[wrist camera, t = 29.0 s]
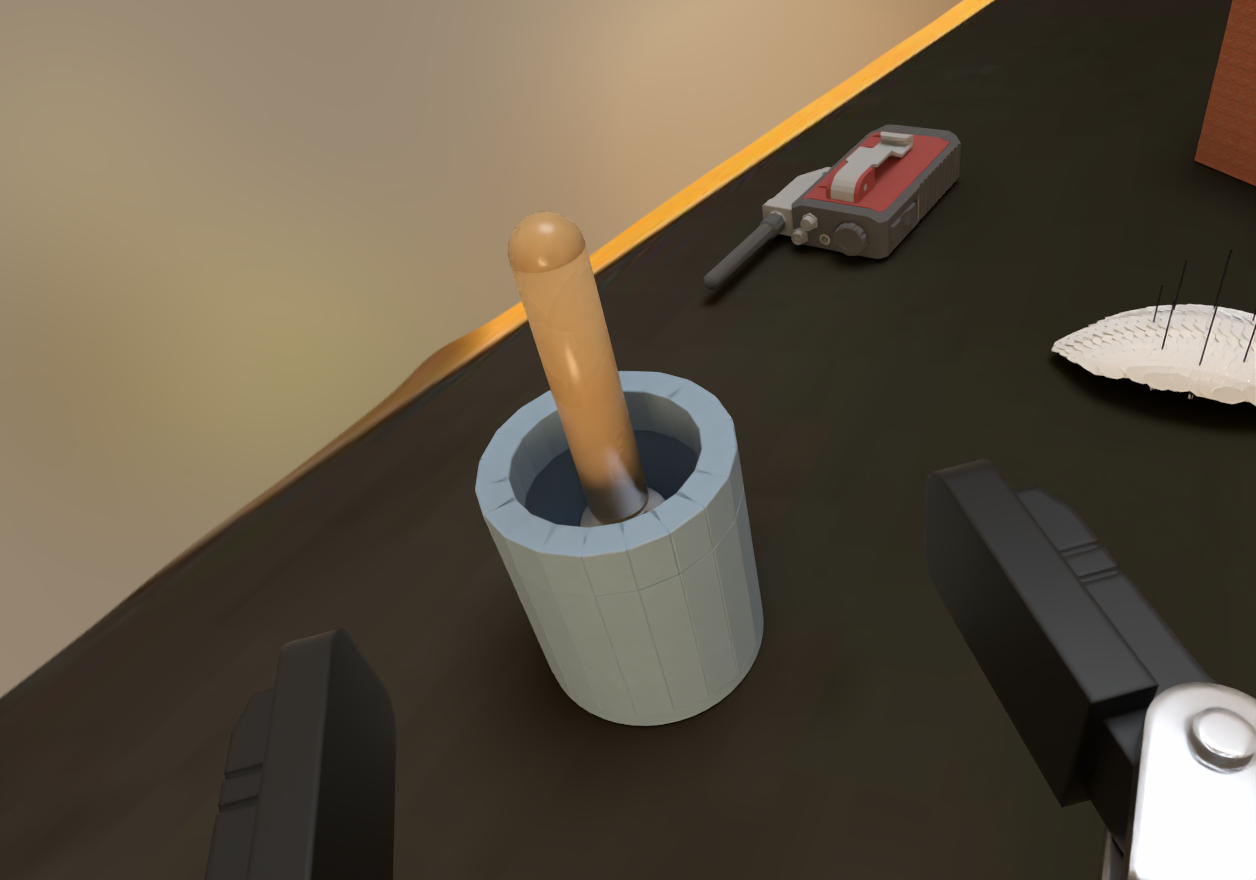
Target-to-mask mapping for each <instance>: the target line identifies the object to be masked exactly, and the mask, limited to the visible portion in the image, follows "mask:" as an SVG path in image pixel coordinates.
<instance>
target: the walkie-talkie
mask: <svg viewBox="0 0 1256 880" xmlns="http://www.w3.org/2000/svg"><path fill="white" fill-rule="evenodd" d="M960 151H961V143H960V141H959V140H958V138H957V136H956V135H955V134H953V133H952V132H950V131H946V130H936V129H927V128H917V127H908V126H898V125H885V126H883V127H881V128H879V129H877V130H875V131H872V132H870V133H868V135H867V136H865V137H864V138H863V139H862V140H861V141H860V142H859V143H857V145H856V146H854V147H853V149H852V150H850V151H849V152H848V153H847V154H845V156H844V157H842V158H841V160H840V161H838V162H837V163H836V164H835V165H833V167H832V168H830V167H826V168H823V169H820V170H817V171H813V172H810V173H807V174H804V175H801V176H798V177H797V178H795V179H794V180H793V181H792V182H791V183H790V184H789V185H787V186H786V187H785V188H784V189H783V190H782V191H781V192H780V193H778V194H777V195H776V196H775V197H774V198H772V199H770V200H768V201H767V202H766V203H765V204H764V205H763V206H762V211H763V221H762V222H761V223H760V224H759V227H758V228H757V229H756V230H755V231H754V232H753V233H752V234H751V235H749V236H748V237H747V238H746V239H745V240H744V241H743V242H742V243H741V244H740V245H739V246H737V247H736V248H735V249H734V250H733V251H732V252H731V253H730V254H729V255H728V256H727V257H725V258H724V259H723V260H722V261H721V262H720V263H719V264H718V265H717V266H716V267H715V268H713V269H712V270H711V271H710V272H709V273H708V274H707V275H706V276H705V277H704V285H705V286H706V288H708V289H711V290H715V289H717V288H718V287H719V286H720V285H721V284H722V283H723V282H724V281H726V280H727V279H728V278H729V277H730V276H731V275H732V274H733V273H734V272H735V271H736V270H737V269H738V268H739V267H740V266H741V265H743V264H744V263H745V262H746V261H747V260H748V259H749V258H750V257H751V256H752V255H753V254H754V253H755V252H756V251H757V250H759V249H760V248H761V247H762V246H763V245H764V244H765V243H766V242H767V241H768V240H769V239H773V238H774V237H776V236H777V235H778V234H782V235H787V236H791V240H792V242H793V243H794V244H796V245H800V244H802V245H807V246H812V247H817V248H822V249H827V250H833V251H838V252H842V253H844V254H845V255H847V256H857V255H858V256H863V257H868V258H873V259H881V258H884V257H887V256H888V255H889V254H890V253H891V252H892V251H893V250H894V249H895V248H896V247H897V245H898V244H899V243H900V242H901V241H902V240H903V239H904V238H905V237H906V236H907V234H908V233H909V232H910V231H911V230H912V229H913V228H914V227H915V226H916V225H917V223H918V222H919V221H920V219H922V218H923V216H924V215H925V214H927V212H928V211H929V210H930V209H931V207H932V206H934V205H935V203H936V202H938V200H939V199H940V198H941V197H942V195H943V194H945V193H946V191H947V190H948V189H949V187H951V186H952V185H953V183H955V182H956V180H957V179H958V178H959V169H960Z"/></svg>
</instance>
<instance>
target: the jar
mask: <svg viewBox="0 0 1256 880" xmlns="http://www.w3.org/2000/svg"><path fill="white" fill-rule="evenodd" d="M618 374H619V377H620V381H621V385H622V389H623V393H624V397H625V401H626V405H627V409H628V413H629V417H630V421H631V425H632V429H633V433H634V436H635V440H636V444H637V448H638V452H639V456H640V460H641V464H642V468H643V472H644V476H645V480H646V484H647V487H648V488H651V489H653V490H655V491H657V492H658V493H660V494H661V495H662V496H663V497H664V498H665V499H666V501H665V502H663V503H662V504H660V505H659V506H657V507H656V508H655V509H653V510H652V511H650V512H647V513H645V514H642V515H639V516H637V517H634V518H632V519H629V520H627V521H624V522H622V523H616V524H609V525H603V526H596V527H589V528H587V527H579V521H580V517H581V515H582V512H583V511H584V509H585V507H586V506H587V505H588V503H587V500H586V497H585V494H584V491H583V488H582V485H581V482H580V479H579V475H578V472H577V469H576V466H575V463H574V460H573V457H572V454H571V451H570V448H569V445H568V441H567V438H566V435H565V432H564V429H563V426H562V423H561V420H560V417H559V414H558V410H557V407H556V404H555V401H554V398H553V395H552V392H551V391H548V392H546V393H545V394H543V395H541V396H540V397H538V398H536V399H535V400H533V401H532V402H530V403H528V404H527V405H525V406H523V407H522V408H520V409H519V410H518V411H517V412H516V413H515V414H514V415H513V416H512V417H511V418H510V419H509V420H508V421H506V422H505V423H504V424H503V425H502V426H501V427H500V428H499V429H498V430H497V431H496V434H495V435H494V436H493V438H492V440H491V441H490V443H489V445H488V447H487V448H486V450H485V452H484V454H483V455H482V457H481V460H480V461H479V467H478V474H477V480H476V487H475V491H476V494H477V498H478V501H479V504H480V507H481V511H482V514H483V516H484V519H485V521H486V523H487V525H488V528H489V530H490V532H491V535H492V537H493V539H494V541H495V544H496V546H497V548H498V550H499V553H500V555H501V557H502V559H503V562H504V564H505V566H506V568H507V571H508V573H509V575H510V578H511V580H512V582H513V584H514V587H515V589H516V591H517V593H518V596H519V598H520V600H521V603H522V605H523V607H524V609H525V612H526V614H527V616H528V618H529V621H530V623H531V625H532V627H533V630H534V632H535V634H536V637H537V639H538V641H539V643H540V646H541V648H542V650H543V652H544V655H545V657H546V659H547V661H548V664H549V666H550V668H551V670H552V672H553V674H554V675H555V677H556V679H557V681H558V682H559V684H560V686H561V687H562V689H563V690H564V691H565V692H566V694H567V695H568V696H569V697H570V698H571V699H572V700H573V701H574V702H576V703H577V704H578V705H579V706H580V707H582V708H584V709H585V710H587V711H588V712H590V713H592V714H594V715H596V716H598V717H601V718H603V719H606V720H609V721H612V722H616V723H620V724H627V725H635V726H652V725H663V724H668V723H672V722H677V721H680V720H683V719H686V718H689V717H692V716H694V715H697V714H699V713H701V712H703V711H705V710H707V709H709V708H710V707H712V706H713V705H715V704H717V703H718V702H720V701H721V700H722V699H723V698H725V697H726V696H727V695H728V694H730V693H731V692H732V691H733V690H734V689H735V688H736V687H737V685H738V684H739V683H740V682H741V681H742V680H743V678H744V677H745V676H746V674H747V673H748V672H749V670H750V668H751V666H752V665H753V663H754V661H755V659H756V657H757V654H758V651H759V649H760V646H761V641H762V636H763V622H764V621H763V610H762V604H761V597H760V591H759V584H758V577H757V571H756V564H755V558H754V551H753V545H752V538H751V531H750V525H749V518H748V512H747V505H746V499H745V492H744V486H743V479H742V473H741V466H740V459H739V453H738V446H737V440H736V435H735V429H734V423H733V420H732V418H731V417H730V415H729V414H728V412H727V411H726V410H725V408H724V407H723V406H722V404H721V403H720V402H719V400H718V399H717V398H716V397H715V396H714V395H713V394H711V393H710V392H708V391H706V390H705V389H703V388H701V387H700V386H698V385H697V384H695V383H693V382H692V381H689V380H687V379H683V378H679V377H675V376H672V375H668V374H664V373H660V372H658V373H657V372H636V371H623V372H622V371H618Z"/></svg>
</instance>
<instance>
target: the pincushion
mask: <svg viewBox="0 0 1256 880" xmlns="http://www.w3.org/2000/svg"><path fill="white" fill-rule="evenodd" d="M1231 252H1232V250H1230V253H1229V256H1228V260H1227V263H1226V267H1225V270H1224V274H1223V277H1222V280H1221V284H1220V287H1219V291H1218V294H1217V298H1216V301H1215V305H1214V306H1210V305H1209V306H1205V305H1200V304H1199V305H1193V304H1187V305H1176V303H1177V299H1178V295H1179V291H1180V287H1181V283H1182V280H1183V276H1184V272H1185V268H1186V264H1187V260H1186V261H1185V265H1184V269H1183V273H1182V277H1181V281H1180V285H1179V289H1178V293H1177V297H1176V300H1175V301H1173V305H1165V306H1158V305H1159V301H1160V296H1161V292H1162V288H1163V285H1161V289H1160V294H1159V298H1158V302H1157V306H1153V307H1147V308H1144V309H1138V310H1131V311H1128V312H1122V313H1119V314H1116V315H1114V316H1110V317H1105V320H1100V321H1098V322H1097V324H1091V325H1088V326H1090V327H1087V328H1083V329H1081V330H1079V331H1077V332H1074V333H1072V334H1070V335H1067V336H1066V337H1064V338H1062V339H1060V340H1058V341H1056V342H1055V343H1054V347H1053V348H1052V351H1053V352H1058V353H1059V354H1060V355H1062V356H1064V357H1067V359H1068V360H1069V361H1071V362H1073V363H1078V364H1079V365H1081V366H1082V367H1083V368H1085V369H1086V370H1087V371H1090V372H1091V373H1093V374H1094V375H1101V376H1105V377H1108V378H1113V379H1120V378H1130V379H1131V380H1132V381H1135V382H1138V383H1141V384H1148V385H1149V386H1150V390H1151V391H1153V390H1154V388H1155V389H1158V390H1162V391H1163V390H1171V391H1174V392H1176V391H1178V392H1187V391H1190V392H1189V396H1188V399H1192V398H1193V394H1195V395H1196V396H1199V397H1205V398H1208V399H1213V400H1217V401H1219V402H1223V403H1228V404H1236V403H1240V402H1244V401H1246V402H1250V403H1252V404H1253V405H1255V406H1256V310H1255V313H1254V314H1250V313H1247V312H1243V311H1238V310H1234V309H1227V308H1223V307H1218V306H1216V303H1217V300H1218V297H1219V293H1220V290H1221V286H1222V283H1223V280H1224V276H1225V273H1226V269H1227V266H1228V262H1229V259H1230V256H1231Z"/></svg>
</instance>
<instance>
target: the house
mask: <svg viewBox="0 0 1256 880" xmlns="http://www.w3.org/2000/svg"><path fill="white" fill-rule="evenodd" d="M1195 161H1197V162H1199V163H1202V164H1204V165H1206V166H1209V167H1211V168H1214V169H1216V170H1218V171H1221V172H1223V173H1226V174H1228V175H1230V176H1233V177H1235V178H1238V179H1240V180H1242V181H1245V182H1247V183H1250V184H1252V185H1254V186H1256V0H1233V2H1232V6H1231V10H1230V14H1229V18H1228V23H1227V27H1226V31H1225V35H1224V39H1223V44H1222V48H1221V52H1220V56H1219V60H1218V64H1217V69H1216V73H1215V77H1214V81H1213V85H1212V89H1211V94H1210V98H1209V102H1208V106H1207V110H1206V114H1205V119H1204V123H1203V127H1202V131H1201V135H1200V140H1199V144H1198V148H1197V152H1196V156H1195Z"/></svg>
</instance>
